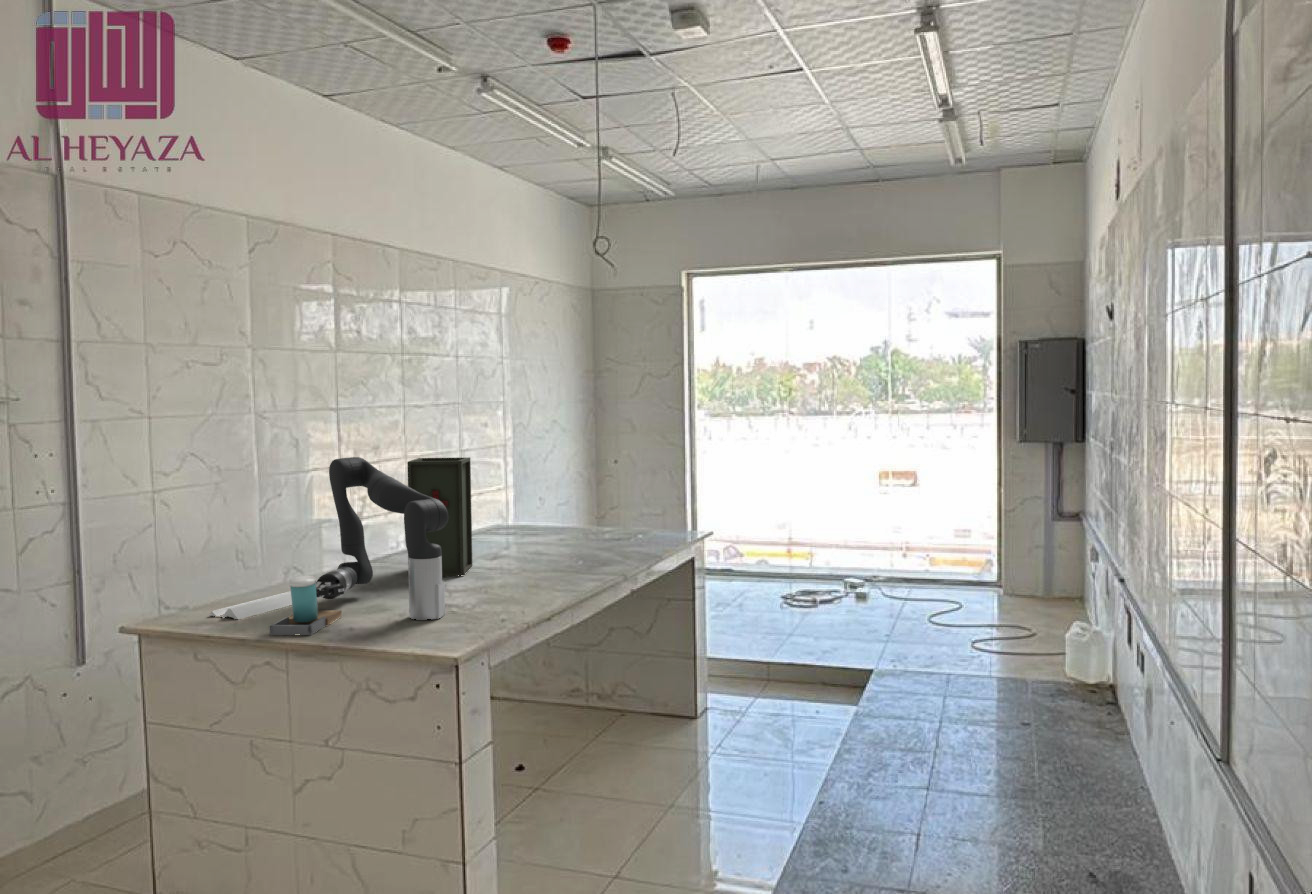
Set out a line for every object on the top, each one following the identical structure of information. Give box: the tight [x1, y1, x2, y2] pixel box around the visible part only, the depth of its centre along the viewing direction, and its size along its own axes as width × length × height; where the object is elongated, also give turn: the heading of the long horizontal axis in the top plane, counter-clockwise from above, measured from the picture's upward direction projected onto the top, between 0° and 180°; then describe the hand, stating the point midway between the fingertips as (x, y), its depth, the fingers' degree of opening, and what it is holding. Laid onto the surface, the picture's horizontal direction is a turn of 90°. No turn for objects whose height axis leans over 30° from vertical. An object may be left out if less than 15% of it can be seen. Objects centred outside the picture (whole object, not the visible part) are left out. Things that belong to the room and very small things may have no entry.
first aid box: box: [407, 457, 473, 577], centre depth 335 cm, size 18×18×40 cm
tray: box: [269, 616, 326, 636], centre depth 254 cm, size 11×10×3 cm
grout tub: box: [288, 575, 319, 622], centre depth 258 cm, size 7×7×11 cm
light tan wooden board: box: [288, 610, 342, 626], centre depth 263 cm, size 12×10×2 cm
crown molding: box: [208, 590, 292, 620], centre depth 283 cm, size 31×12×4 cm, turn 155°
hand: (310, 596), depth 261 cm, fingers closed
